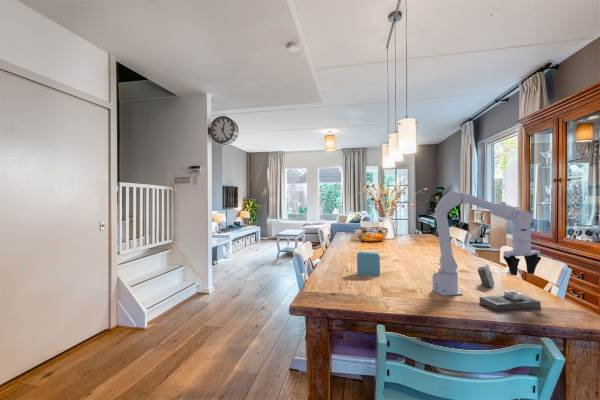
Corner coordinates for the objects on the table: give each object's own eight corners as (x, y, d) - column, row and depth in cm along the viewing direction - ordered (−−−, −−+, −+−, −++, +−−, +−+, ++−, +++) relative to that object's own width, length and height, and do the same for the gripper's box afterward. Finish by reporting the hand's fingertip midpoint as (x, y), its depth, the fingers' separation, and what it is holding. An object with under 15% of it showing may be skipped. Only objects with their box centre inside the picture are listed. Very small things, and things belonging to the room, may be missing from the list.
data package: (379, 274, 153) (379, 252, 153) (380, 276, 148) (379, 253, 148) (357, 273, 155) (357, 251, 155) (357, 275, 151) (356, 253, 151)
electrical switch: (493, 288, 125) (490, 268, 126) (479, 287, 128) (476, 267, 129) (494, 283, 133) (492, 264, 133) (481, 283, 136) (479, 263, 136)
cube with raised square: (513, 307, 103) (513, 294, 103) (504, 303, 107) (504, 290, 107) (523, 307, 104) (522, 293, 104) (513, 303, 108) (513, 289, 108)
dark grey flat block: (497, 311, 100) (496, 304, 100) (479, 303, 108) (479, 296, 108) (540, 308, 102) (540, 301, 102) (520, 300, 110) (520, 294, 110)
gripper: (514, 242, 105) (515, 277, 105) (547, 240, 107) (548, 275, 107) (498, 239, 112) (499, 273, 112) (530, 238, 114) (530, 271, 114)
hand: (522, 274), depth 110 cm, fingers open, 7 cm apart
